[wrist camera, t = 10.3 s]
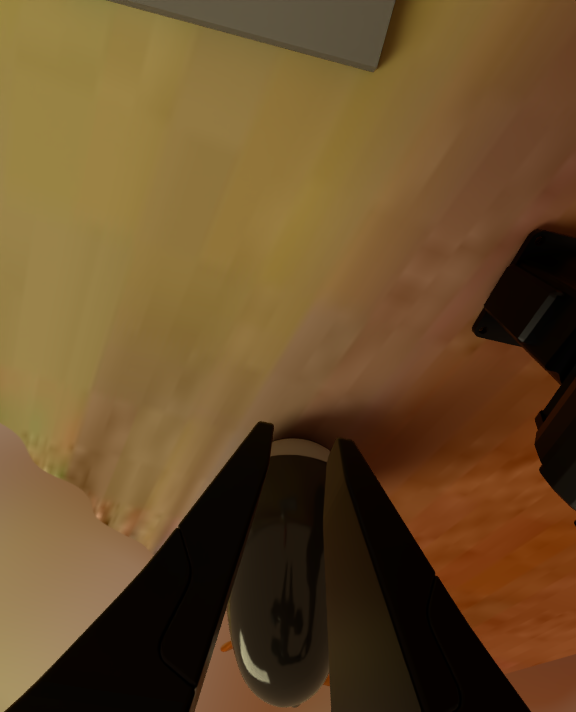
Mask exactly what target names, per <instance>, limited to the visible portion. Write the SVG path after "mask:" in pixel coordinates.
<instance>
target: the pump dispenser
mask: <svg viewBox="0 0 576 712" xmlns="http://www.w3.org/2000/svg"><path fill="white" fill-rule="evenodd" d="M330 452H331V451H329V450H328V449H327V448H325V447H323V446H321V445H320V444H317V443H315V442H312V441H309V440H304V439H295V438H290V439H281V440H277V441H274V442H272V447H271V455H270V462H269V466H268V470H267V474H266V477H265V481H264V484H263V488H262V491H261V495H260V499H259V502H258V506H257V509H256V513H255V516H254V520H253V523H252V526H251V529H250V533H249V536H248V539H247V542H246V546H245V549H244V552H243V556H242V559H241V562H240V565H239V569H238V572H237V575H236V578H235V582H234V585H233V588H232V591H231V595H230V598H229V601H228V604H227V616H228V625H229V631H230V637H231V641H232V646H233V650H234V654H235V657H236V661H237V664H238V667H239V670H240V672H241V675H242V677H243V679H244V681H245V683H246V684H247V685H248V687H249V688H250V689H251V691H252V692H253V693H254V694H255V695H256V696H257V697H259V698H260V699H261V700H263V701H264V702H266V703H268V704H270V705H273V706H277V707H298V706H299V705H300V704H301V703H303V702H305V701H307V700H308V699H309V698H311V697H312V696H313V695H314V694H315V693H316V692H317V691H318V690H319V689H320V687H321V686H322V685H323V683H324V682H325V680H326V678H327V676H328V674H329V649H328V627H327V605H326V582H325V560H324V537H323V512H324V497H325V482H326V467H327V460H328V456H329V454H330Z"/></svg>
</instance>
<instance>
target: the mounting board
mask: <svg viewBox="0 0 576 712" xmlns="http://www.w3.org/2000/svg"><path fill="white" fill-rule="evenodd" d="M108 1H112V2H115V3H119V4H123V5H126V6H130V7H134V8H137V9H141V10H145V11H149V12H152V13H156V14H160V15H163V16H167V17H171V18H174V19H178V20H182V21H186V22H189V23H193V24H197V25H200V26H204V27H208V28H211V29H215V30H219V31H223V32H226V33H230V34H234V35H237V36H241V37H245V38H248V39H252V40H256V41H260V42H263V43H267V44H271V45H274V46H278V47H282V48H285V49H289V50H293V51H297V52H300V53H304V54H308V55H311V56H315V57H319V58H322V59H326V60H330V61H334V62H337V63H341V64H345V65H348V66H352V67H356V68H360V69H363V70H367V71H371V72H374V71H375V69H376V68H377V65H378V62H379V58H380V55H381V51H382V47H383V44H384V40H385V36H386V33H387V29H388V25H389V22H390V18H391V15H392V11H393V7H394V4H395V0H108Z"/></svg>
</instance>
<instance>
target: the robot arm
mask: <svg viewBox="0 0 576 712" xmlns="http://www.w3.org/2000/svg"><path fill="white" fill-rule="evenodd" d="M540 236H541V240H540V241H539V242H538V243H536V244H535V240H536V239H537V238H538V237H540ZM482 327H485V328H484V329H483V330H481V331H479V329H480V328H482ZM472 331H473V332H474V334H475V335H476V336H478V337H481V338H485V339H489V340H494V341H498V342H502V343H507V344H511V345H516V346H520V347H523V348H524V349H525V350H526V351H527V352H528V353H529V354H530V355H531V356H532V357H533V358H534V359H535V360H536V361H537V362H538V363H539V364H540V365H541V366H542V367H543V368H544V369H545V370H546V371H547V372H548V373H549V374H550V375H551V376H552V377H553V378H554V379H555V380H556V381H557V382H558V383H559V384H560V385H561V386H560V387H559V389H558V390H557V392H556V393H555V395H554V396H553V397H552V399H551V400H550V402H549V403H548V405H547V406H546V408H545V409H544V410H541V411H540V412H539V413H538V415H537V416H536V418H535V422H536V425H537V429H538V431H537V433H536V438H535V444H534V445H535V448H536V450H537V453H538V456H539V459H540V461H541V463H542V465H541V467H540V469H539V471H540V473H541V474H542V476H543V477H544V479H545V480H546V481H547V482H548V484H549V485H550V486H551V487H552V489H553V490H554V491H555V492H556V493H557V494H558V495H559V496H560V497H561V498H562V499H563V500H564V501H565V502H566V503H567V504H568V505H569V506H570V507H571V508H572V509H574V510H575V511H576V238H574V237H570V236H566V235H562V234H558V233H554V232H550V231H546V230H542V229H538V230H535V231H533V232H531V233H530V234H529V235H528V236H527V238H526V240H525V241H524V243H523V244H522V246H521V248H520V249H519V251H518V253H517V254H516V256H515V258H514V259H513V261H512V262H511V264H510V266H508V267H507V268H506V270H505V271H504V273H503V275H502V276H501V278H500V279H499V281H498V283H497V284H496V286H495V288H494V289H493V291H492V293H491V294H490V296H489V298H488V299H487V301H486V303H485V304H484V308H483V310H482V312H481V313H480V315H479V317H478V318H477V320H476V321H475V323H474V325H473V327H472ZM273 431H274V425H273V424H272V423H267V422H262V421H259V422H258V423H257V424H256V425H255V427H254V428H253V429H252V430H251V432H250V433H249V434H248V436H247V437H246V438H245V440H244V441H243V442H242V443H241V445H240V446H239V447H238V449H237V450H236V451H235V453H234V454H233V455H232V456H231V458H230V459H229V460H228V462H227V463H226V464H225V465H224V467H223V468H222V469H221V471H220V472H219V473H218V475H217V476H216V477H215V478H214V480H213V481H212V482H211V484H210V485H209V486H208V487H207V489H206V490H205V491H204V493H203V494H202V495H201V497H200V498H199V499H198V500H197V502H196V503H195V504H194V506H193V507H192V508H191V509H190V511H189V512H188V513H187V515H186V516H185V517H184V519H183V520H182V521H181V522H180V524H179V525H178V528H176V529H175V530H174V531H173V532H172V534H171V535H170V536H169V538H168V539H167V540H166V542H165V543H164V544H163V545H162V547H161V548H160V549H159V550H158V551H157V553H156V554H155V555H154V556H153V558H152V559H151V560H150V561H149V563H148V564H147V565H146V566H145V567H144V569H143V570H142V571H141V572H140V573H139V574H138V575H137V576H136V577H135V579H134V580H133V581H132V582H131V583H130V584H129V585H128V586H127V587H126V588H125V589H124V591H123V592H122V593H121V594H120V595H119V596H118V597H117V598H116V599H115V600H114V601H113V602H112V603H111V604H110V605H109V607H108V608H107V609H106V610H105V611H104V612H103V613H102V614H101V615H100V616H99V617H98V618H97V619H96V620H95V621H94V622H93V623H92V624H91V625H90V626H89V628H88V629H87V630H86V631H85V632H84V633H83V634H82V635H81V636H80V637H79V638H78V639H77V640H76V641H75V642H74V643H73V644H72V645H71V646H70V647H69V649H68V650H67V651H66V652H65V653H64V654H63V655H62V656H61V657H60V658H59V659H58V660H57V661H56V662H55V663H54V664H53V665H52V666H51V667H50V668H49V669H48V670H47V671H46V672H45V673H44V674H43V676H42V677H40V678H39V680H38V681H37V682H35V684H33V685H32V686H31V687H30V688H29V689H28V690H27V691H26V692H25V693H24V694H23V695H22V696H21V697H20V698H19V699H18V700H16V701H15V702H14V703H13V704H12V705H11V706H10V707H9V708H8V709H7V710H5V711H4V712H195V708H196V705H197V702H198V699H199V695H200V692H201V689H202V686H203V682H204V678H205V676H206V673H207V669H208V666H209V663H210V660H211V656H212V653H213V649H214V647H215V643H216V640H217V637H218V634H219V630H220V627H221V624H222V620H223V617H224V614H225V611H226V608H227V604H228V601H229V598H230V595H231V591H232V588H233V585H234V582H235V578H236V575H237V572H238V569H239V565H240V562H241V559H242V556H243V552H244V549H245V546H246V542H247V539H248V536H249V533H250V529H251V526H252V523H253V520H254V516H255V513H256V509H257V506H258V502H259V499H260V495H261V491H262V488H263V484H264V481H265V477H266V474H267V470H268V466H269V462H270V455H271V447H272V439H273ZM574 524H575V526H576V520H575V521H574ZM323 537H324V560H325V582H326V605H327V627H328V649H329V672H330V692H331V693H330V694H331V712H531V711H530V710H529V708H528V707H527V705H526V704H525V703H524V701H523V700H522V698H521V697H520V696H519V694H518V693H517V692H516V690H515V689H514V687H513V686H512V685H511V683H510V682H509V681H508V679H507V678H506V677H505V675H504V674H503V672H502V671H501V669H500V668H499V667H498V665H497V664H496V663H495V661H494V660H493V658H492V657H491V656H490V654H489V653H488V651H487V650H486V648H485V647H484V646H483V644H482V643H481V641H480V640H479V638H478V637H477V636H476V634H475V633H474V631H473V630H472V628H471V627H470V626H469V624H468V623H467V621H466V619H465V618H464V616H463V615H462V613H461V612H460V610H459V609H458V607H457V606H456V604H455V603H454V601H453V599H452V598H451V596H450V595H449V593H448V592H447V590H446V588H445V587H444V585H443V584H442V582H441V580H440V579H439V577H438V576H435V571H434V569H433V568H432V566H431V565H430V563H429V561H428V560H427V558H426V557H425V555H424V553H423V552H422V550H421V549H420V547H419V545H418V544H417V542H416V541H415V539H414V537H413V536H412V534H411V533H410V531H409V529H408V528H407V526H406V525H405V523H404V521H403V520H402V518H401V517H400V515H399V513H398V512H397V510H396V509H395V507H394V505H393V504H392V502H391V501H390V499H389V497H388V496H387V494H386V493H385V491H384V489H383V488H382V486H381V485H380V483H379V481H378V480H377V478H376V476H375V475H374V473H373V472H372V470H371V468H370V467H369V465H368V464H367V462H366V460H365V459H364V457H363V456H362V454H361V452H360V451H359V449H358V448H357V446H356V444H355V443H354V442H353V441H352V440H350V439H345V438H340V437H339V438H337V439H336V440H335V443H334V445H333V447H332V449H331V452H330V454H329V456H328V460H327V467H326V482H325V497H324V512H323Z"/></svg>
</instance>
